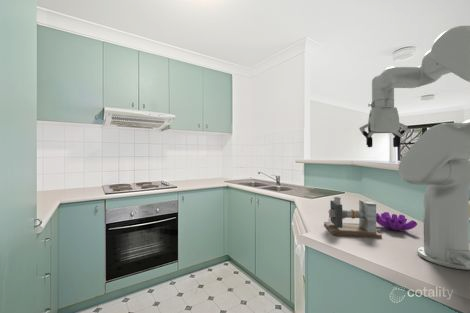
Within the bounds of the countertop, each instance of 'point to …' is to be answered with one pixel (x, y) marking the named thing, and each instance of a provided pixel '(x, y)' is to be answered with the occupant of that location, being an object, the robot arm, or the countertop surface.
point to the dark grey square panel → (336, 213)
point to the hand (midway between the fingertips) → (382, 147)
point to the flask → (337, 200)
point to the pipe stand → (353, 229)
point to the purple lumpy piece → (394, 221)
